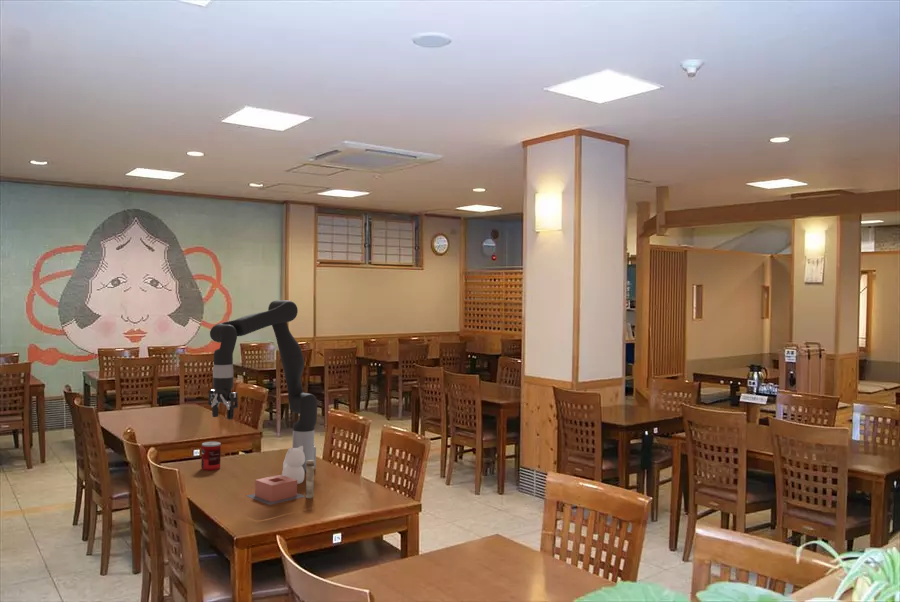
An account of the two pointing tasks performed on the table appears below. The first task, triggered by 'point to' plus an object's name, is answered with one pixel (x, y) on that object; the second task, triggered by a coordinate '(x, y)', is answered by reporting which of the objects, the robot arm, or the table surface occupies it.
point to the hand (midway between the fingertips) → (222, 418)
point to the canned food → (211, 456)
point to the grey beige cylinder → (309, 479)
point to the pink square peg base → (275, 488)
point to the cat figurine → (294, 464)
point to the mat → (274, 501)
